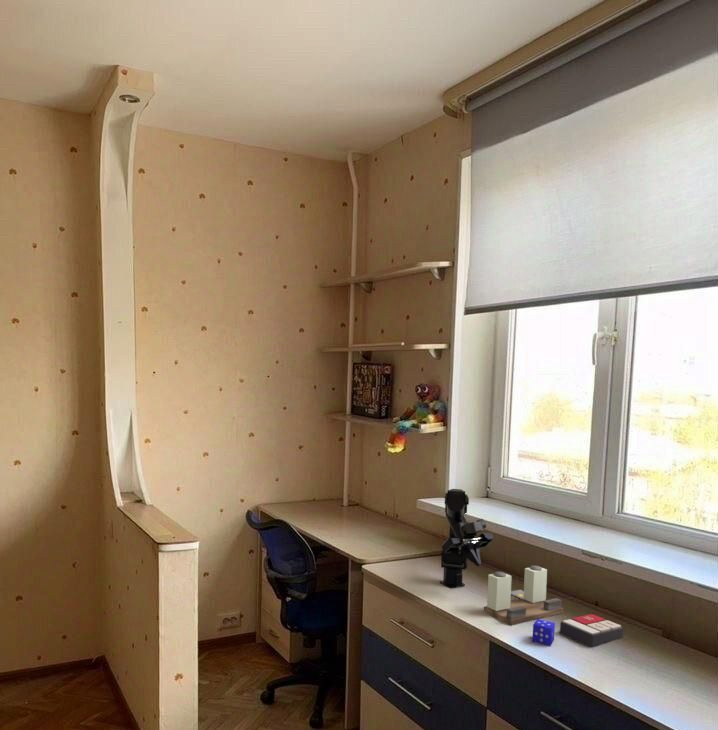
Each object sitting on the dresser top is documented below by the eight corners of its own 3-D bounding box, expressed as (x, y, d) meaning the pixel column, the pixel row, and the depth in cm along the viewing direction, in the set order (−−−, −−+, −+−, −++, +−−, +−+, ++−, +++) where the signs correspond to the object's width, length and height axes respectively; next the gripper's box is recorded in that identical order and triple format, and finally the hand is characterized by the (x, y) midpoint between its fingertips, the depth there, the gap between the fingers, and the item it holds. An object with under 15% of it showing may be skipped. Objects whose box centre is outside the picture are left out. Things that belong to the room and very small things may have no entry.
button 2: (523, 599, 207) (524, 566, 207) (536, 596, 210) (537, 564, 210) (532, 603, 204) (534, 570, 204) (545, 600, 207) (547, 567, 207)
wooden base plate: (483, 611, 199) (483, 598, 199) (534, 600, 211) (535, 588, 211) (511, 625, 189) (511, 612, 189) (563, 613, 201) (564, 600, 201)
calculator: (624, 625, 185) (592, 632, 176) (623, 640, 184) (591, 648, 176) (591, 612, 194) (560, 618, 185) (590, 626, 193) (559, 633, 185)
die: (550, 646, 176) (551, 628, 176) (532, 642, 178) (533, 624, 178) (554, 640, 180) (555, 622, 180) (536, 636, 182) (537, 618, 182)
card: (507, 593, 217) (507, 591, 217) (520, 590, 220) (520, 589, 220) (525, 601, 210) (525, 599, 210) (537, 598, 213) (538, 596, 213)
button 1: (487, 606, 199) (488, 572, 199) (501, 603, 202) (502, 570, 202) (496, 611, 195) (497, 576, 195) (510, 608, 198) (511, 574, 198)
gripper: (448, 513, 206) (470, 556, 197) (491, 508, 216) (513, 549, 207) (432, 531, 213) (452, 574, 203) (474, 526, 223) (495, 566, 213)
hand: (479, 565), depth 206 cm, fingers closed
